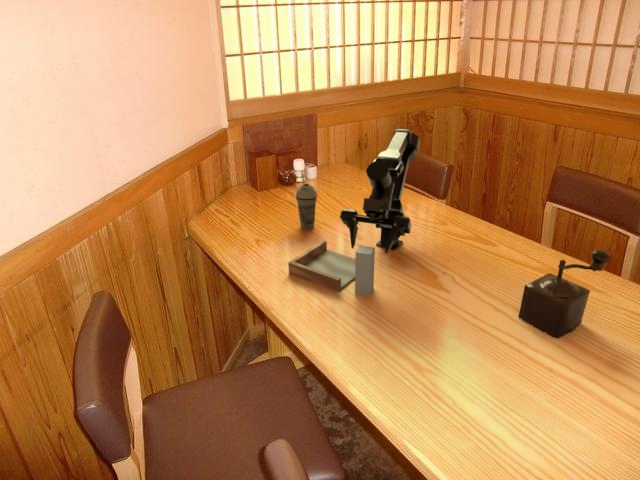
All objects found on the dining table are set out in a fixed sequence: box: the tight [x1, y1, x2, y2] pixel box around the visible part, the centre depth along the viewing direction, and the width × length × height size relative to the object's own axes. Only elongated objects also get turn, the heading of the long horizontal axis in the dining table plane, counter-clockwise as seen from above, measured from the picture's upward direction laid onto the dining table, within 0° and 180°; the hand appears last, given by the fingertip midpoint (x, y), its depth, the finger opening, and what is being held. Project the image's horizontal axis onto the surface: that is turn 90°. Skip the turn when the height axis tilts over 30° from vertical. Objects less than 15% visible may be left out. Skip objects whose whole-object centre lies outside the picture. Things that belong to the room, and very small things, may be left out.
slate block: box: [354, 244, 376, 297], centre depth 122 cm, size 4×4×12 cm
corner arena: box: [287, 239, 356, 293], centre depth 135 cm, size 17×17×4 cm
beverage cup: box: [295, 171, 318, 231], centre depth 157 cm, size 7×7×20 cm
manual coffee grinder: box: [517, 249, 611, 339], centre depth 108 cm, size 16×11×18 cm
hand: (368, 250), depth 123 cm, fingers open, 9 cm apart
